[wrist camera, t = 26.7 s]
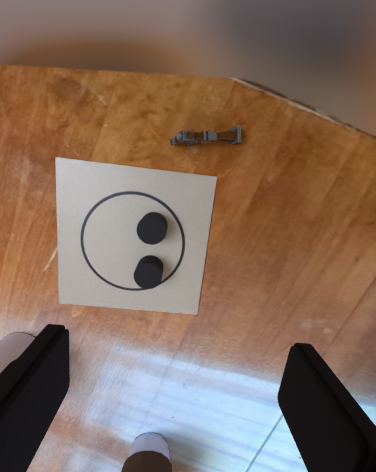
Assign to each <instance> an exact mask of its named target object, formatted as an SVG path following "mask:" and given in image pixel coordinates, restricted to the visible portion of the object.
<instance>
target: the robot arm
mask: <svg viewBox="0 0 376 472" xmlns="http://www.w3.org/2000/svg"><path fill="white" fill-rule="evenodd" d="M69 383H70V375H69V330H68V329H65V326H64V325H53V324H48V325H47V326H46V327H45V328H44V329H43V330H42V331H41V332H40V334H39V335H38V336H37V337H36V338H35V339H34V340H33V341H32V343H31V344H30V345H29V346H28V347H27V348H26V349H25V351H24V352H23V353H22V354H21V355H20V356H19V357H18V358H17V359H15V360H13V361H12V362H10V363H9V364H8V365H7V366H6V368H5V369H4V370H3V371H2V372H1V373H0V472H26V471H27V469H28V467H29V465H30V463H31V461H32V459H33V457H34V456H35V454H36V452H37V450H38V448H39V446H40V444H41V442H42V440H43V438H44V436H45V434H46V432H47V430H48V428H49V427H50V425H51V423H52V421H53V419H54V417H55V415H56V413H57V411H58V409H59V407H60V405H61V403H62V401H63V399H64V398H65V396H66V394H67V391H68V388H69ZM278 403H279V406H280V409H281V411H282V413H283V415H284V418H285V420H286V422H287V425H288V427H289V429H290V431H291V434H292V436H293V438H294V441H295V443H296V445H297V447H298V450H299V452H300V454H301V457H302V459H303V461H304V463H305V466H306V468H307V470H308V472H376V426H375V425H374V424H373V422H372V421H371V420H370V418H369V417H368V416H367V415H366V413H365V412H364V411H363V410H362V408H361V407H360V406H359V405H358V403H357V402H356V401H355V399H354V398H353V397H352V396H351V394H350V393H349V392H348V391H347V389H346V388H345V387H344V385H343V384H342V383H341V382H340V380H339V379H338V378H337V377H336V375H335V374H334V373H333V371H332V370H331V369H330V368H329V366H328V365H327V364H326V363H325V361H324V360H323V359H322V358H321V356H320V355H319V354H318V352H317V351H316V350H315V349H314V347H313V346H312V345H311V344H306V343H295V344H294V346H292V347H291V348H290V351H289V355H288V359H287V362H286V366H285V370H284V374H283V377H282V381H281V385H280V388H279V392H278Z"/></svg>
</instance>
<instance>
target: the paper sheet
mask: <svg viewBox="0 0 376 472" xmlns="http://www.w3.org/2000/svg"><path fill="white" fill-rule="evenodd" d="M216 181H217V177H214V176H206V175H198V174H190V173H181V172H173V171H165V170H157V169H149V168H141V167H132V166H124V165H116V164H108V163H100V162H92V161H83V160H75V159H67V158H59V157H56V198H57V239H58V280H59V303H62V304H74V305H86V306H99V307H111V308H123V309H136V310H148V311H160V312H172V313H185V314H197V313H198V306H199V299H200V292H201V285H202V278H203V271H204V264H205V257H206V250H207V243H208V236H209V230H210V223H211V216H212V209H213V202H214V195H215V188H216ZM150 212H157V213H160V214H162V215H163V216H164V217H165V218H166V220H167V223H168V228H167V233H166V236H165V238H164V239H163V241H161V242H160V243H158V244H155V245H149V244H146V243H144V242H142V241H141V240H140V239H139V237H138V235H137V225H138V223H139V221H140V220H141V219H142V218H143V217H144V216H145V215H146V214H147V213H150ZM147 255H153V256H156V257H158V258H159V259H160V260H161V261H162V263H163V267H164V269H163V275H162V280H161V282H160V284H159V285H158V286H157V287H155V288H153V289H144V288H141V287H139V286H138V285H137V284H136V282H135V281H134V271H135V269H136V267H137V264H138V262H139V261H140V259H141V258H143V257H144V256H147Z"/></svg>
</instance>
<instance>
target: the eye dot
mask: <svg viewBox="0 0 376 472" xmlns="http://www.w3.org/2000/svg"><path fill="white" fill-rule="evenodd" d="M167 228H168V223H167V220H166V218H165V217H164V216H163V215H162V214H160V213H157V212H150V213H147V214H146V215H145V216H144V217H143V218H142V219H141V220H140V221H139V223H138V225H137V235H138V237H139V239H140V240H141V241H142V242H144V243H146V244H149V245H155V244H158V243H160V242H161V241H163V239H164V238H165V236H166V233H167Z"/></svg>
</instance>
